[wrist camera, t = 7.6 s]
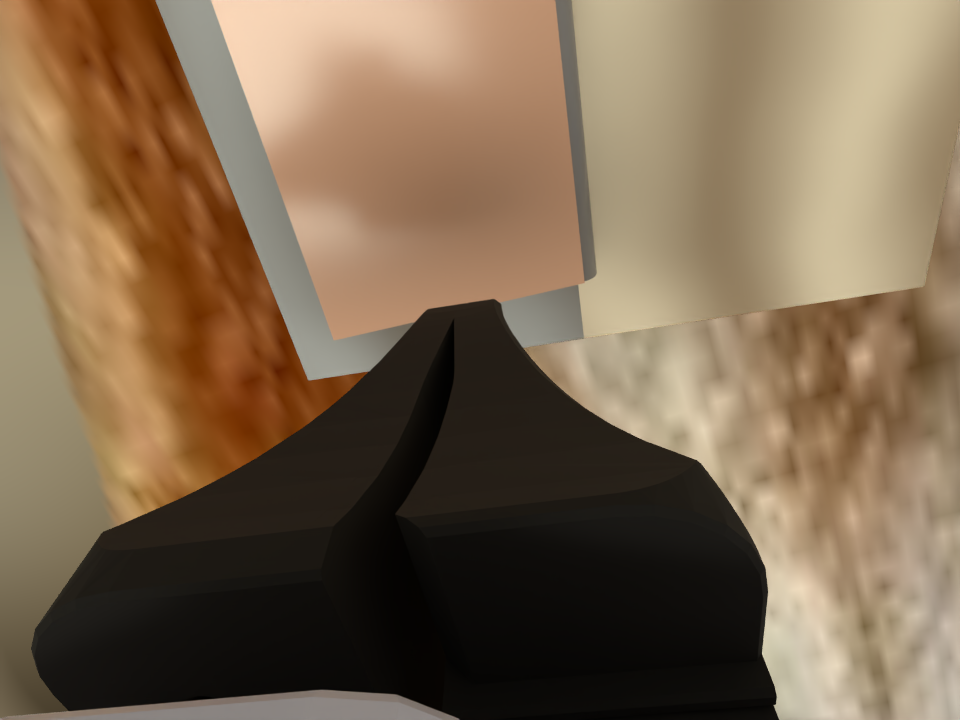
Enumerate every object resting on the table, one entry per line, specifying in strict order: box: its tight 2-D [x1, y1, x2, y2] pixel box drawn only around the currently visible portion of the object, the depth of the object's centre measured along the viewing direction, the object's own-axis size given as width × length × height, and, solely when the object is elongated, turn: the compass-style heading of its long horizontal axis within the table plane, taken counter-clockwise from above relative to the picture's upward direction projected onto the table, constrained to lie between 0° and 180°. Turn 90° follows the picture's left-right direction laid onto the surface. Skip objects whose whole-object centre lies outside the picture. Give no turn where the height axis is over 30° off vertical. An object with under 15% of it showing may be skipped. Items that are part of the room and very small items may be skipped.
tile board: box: [156, 0, 960, 380], centre depth 16 cm, size 19×14×2 cm
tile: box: [211, 0, 597, 340], centre depth 15 cm, size 8×9×1 cm
